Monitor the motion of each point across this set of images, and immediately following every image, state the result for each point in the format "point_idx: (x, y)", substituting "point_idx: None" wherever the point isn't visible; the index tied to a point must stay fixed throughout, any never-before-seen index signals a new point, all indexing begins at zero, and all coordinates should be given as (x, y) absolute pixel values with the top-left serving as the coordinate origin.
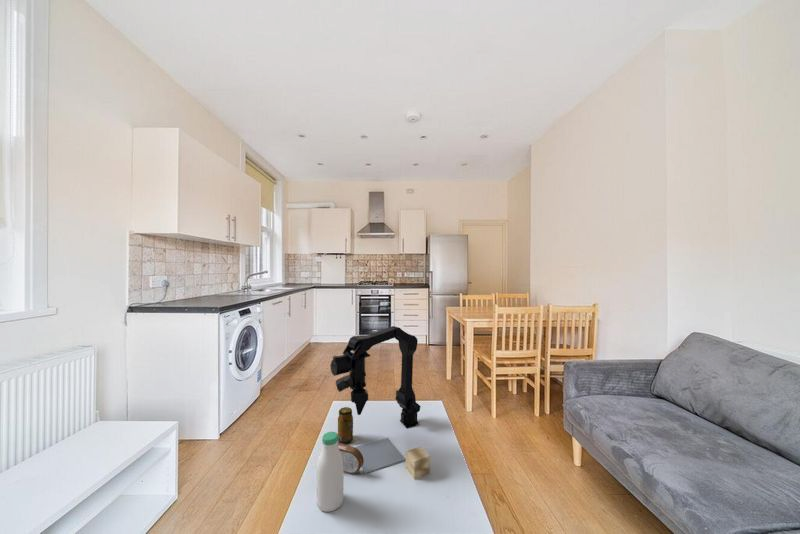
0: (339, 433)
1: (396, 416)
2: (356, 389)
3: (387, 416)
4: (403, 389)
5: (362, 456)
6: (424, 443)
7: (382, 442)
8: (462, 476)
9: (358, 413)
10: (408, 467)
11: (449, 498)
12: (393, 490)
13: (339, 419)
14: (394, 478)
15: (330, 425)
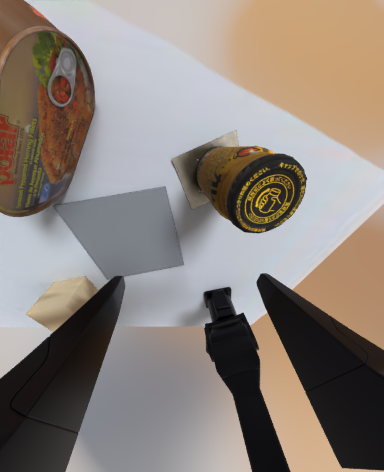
0: (214, 152)
1: (247, 283)
2: (360, 396)
3: (257, 272)
4: (242, 386)
5: (19, 215)
6: (154, 304)
7: (170, 254)
8: None
9: (109, 287)
10: (71, 284)
11: (15, 310)
12: (8, 249)
13: (238, 154)
14: (50, 256)
15: (313, 131)
